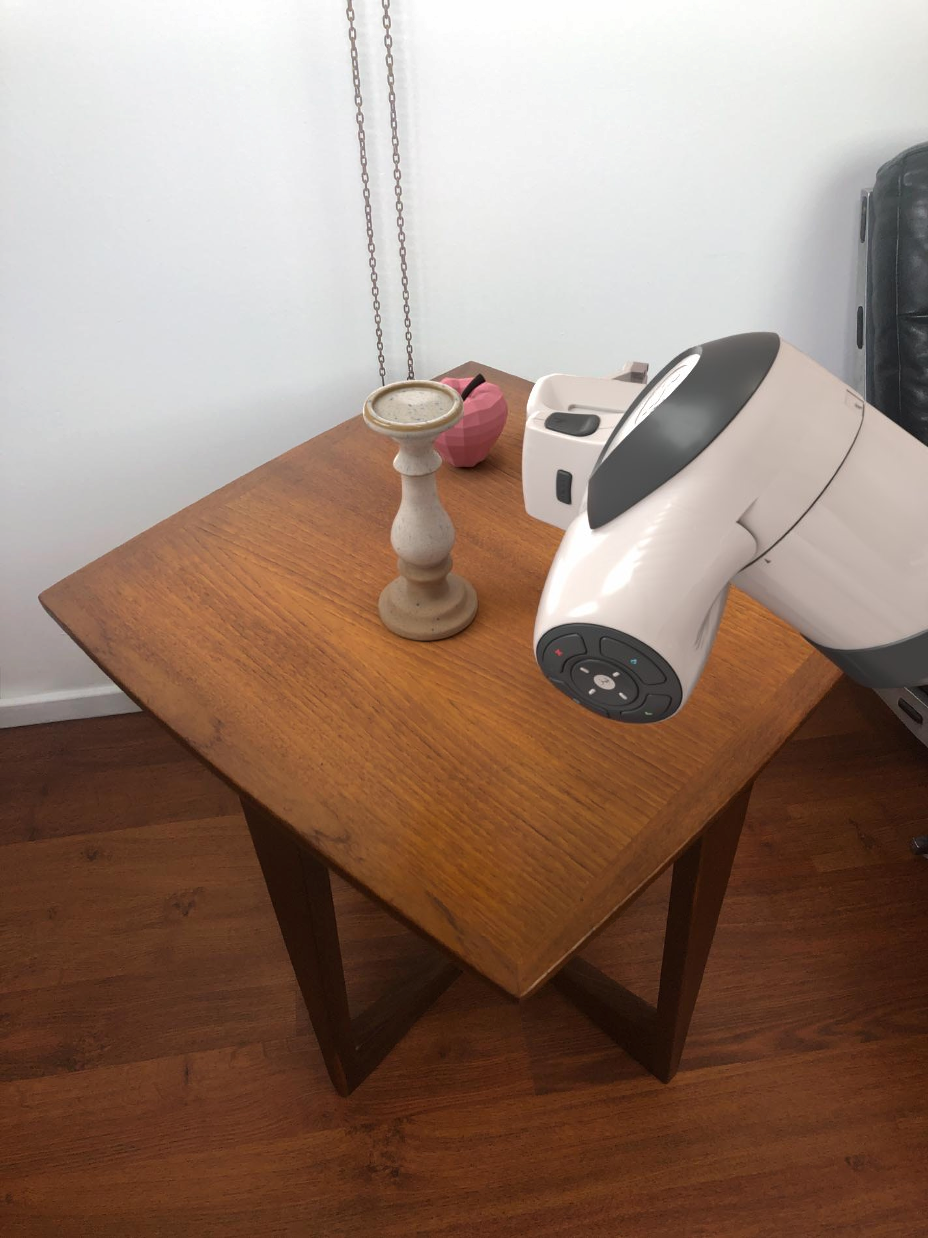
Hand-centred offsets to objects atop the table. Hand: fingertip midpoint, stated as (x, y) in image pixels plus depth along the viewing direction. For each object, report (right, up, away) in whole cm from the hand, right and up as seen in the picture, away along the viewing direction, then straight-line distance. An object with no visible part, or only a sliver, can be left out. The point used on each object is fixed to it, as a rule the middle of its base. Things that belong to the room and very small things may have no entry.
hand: (707, 379), depth 64 cm
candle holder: (-19, -15, +21) cm, 32 cm away
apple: (-16, +1, +39) cm, 43 cm away
